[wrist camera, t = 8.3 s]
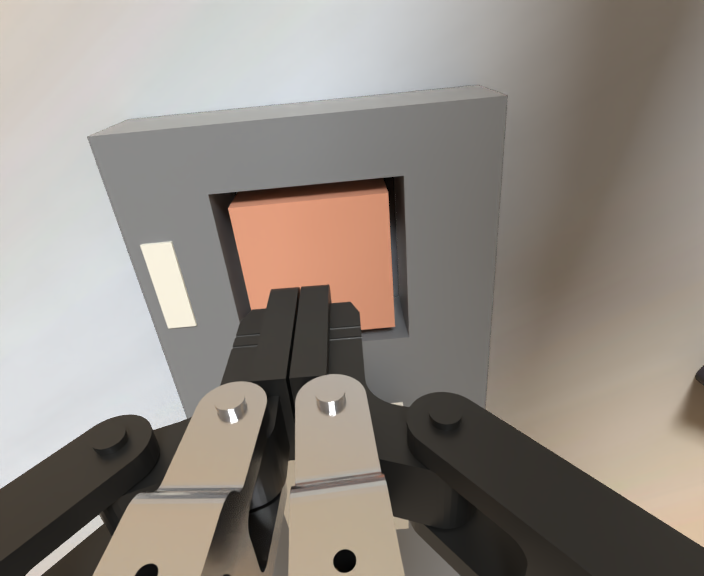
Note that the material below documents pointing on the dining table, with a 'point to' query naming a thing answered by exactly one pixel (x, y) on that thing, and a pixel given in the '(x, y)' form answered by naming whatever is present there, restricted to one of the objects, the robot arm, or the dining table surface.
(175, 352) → the panel
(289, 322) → the robot arm
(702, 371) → the calculator
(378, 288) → the push button
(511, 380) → the dining table surface
